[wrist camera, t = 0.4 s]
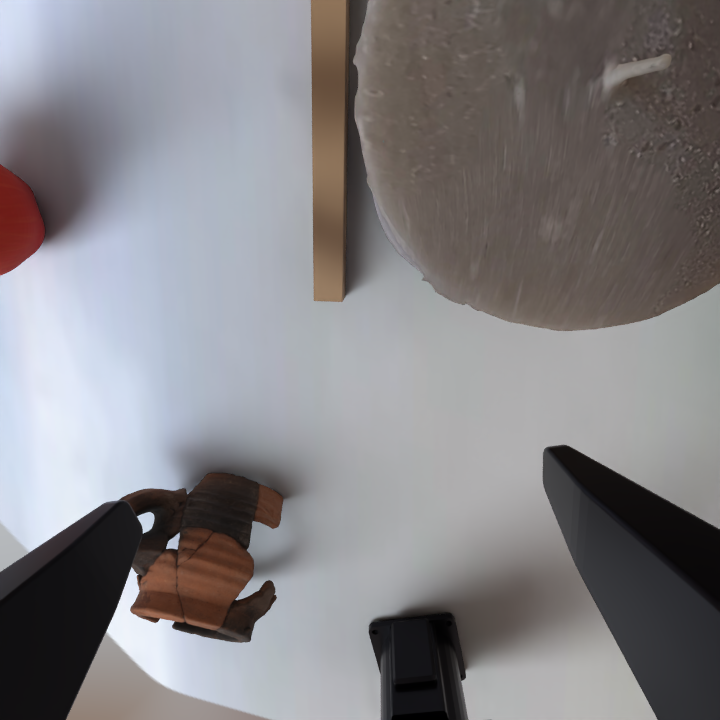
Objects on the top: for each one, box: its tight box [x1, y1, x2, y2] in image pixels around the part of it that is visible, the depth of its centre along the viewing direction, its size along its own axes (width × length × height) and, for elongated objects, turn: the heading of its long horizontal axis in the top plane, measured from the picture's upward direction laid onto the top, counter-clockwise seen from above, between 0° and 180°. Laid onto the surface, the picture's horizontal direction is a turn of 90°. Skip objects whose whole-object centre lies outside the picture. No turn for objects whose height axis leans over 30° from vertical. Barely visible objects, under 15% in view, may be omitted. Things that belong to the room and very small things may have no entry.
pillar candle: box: [353, 0, 720, 331], centre depth 13 cm, size 10×10×15 cm
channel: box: [311, 0, 350, 302], centre depth 17 cm, size 19×15×4 cm
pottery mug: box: [118, 473, 283, 643], centre depth 25 cm, size 12×10×8 cm
